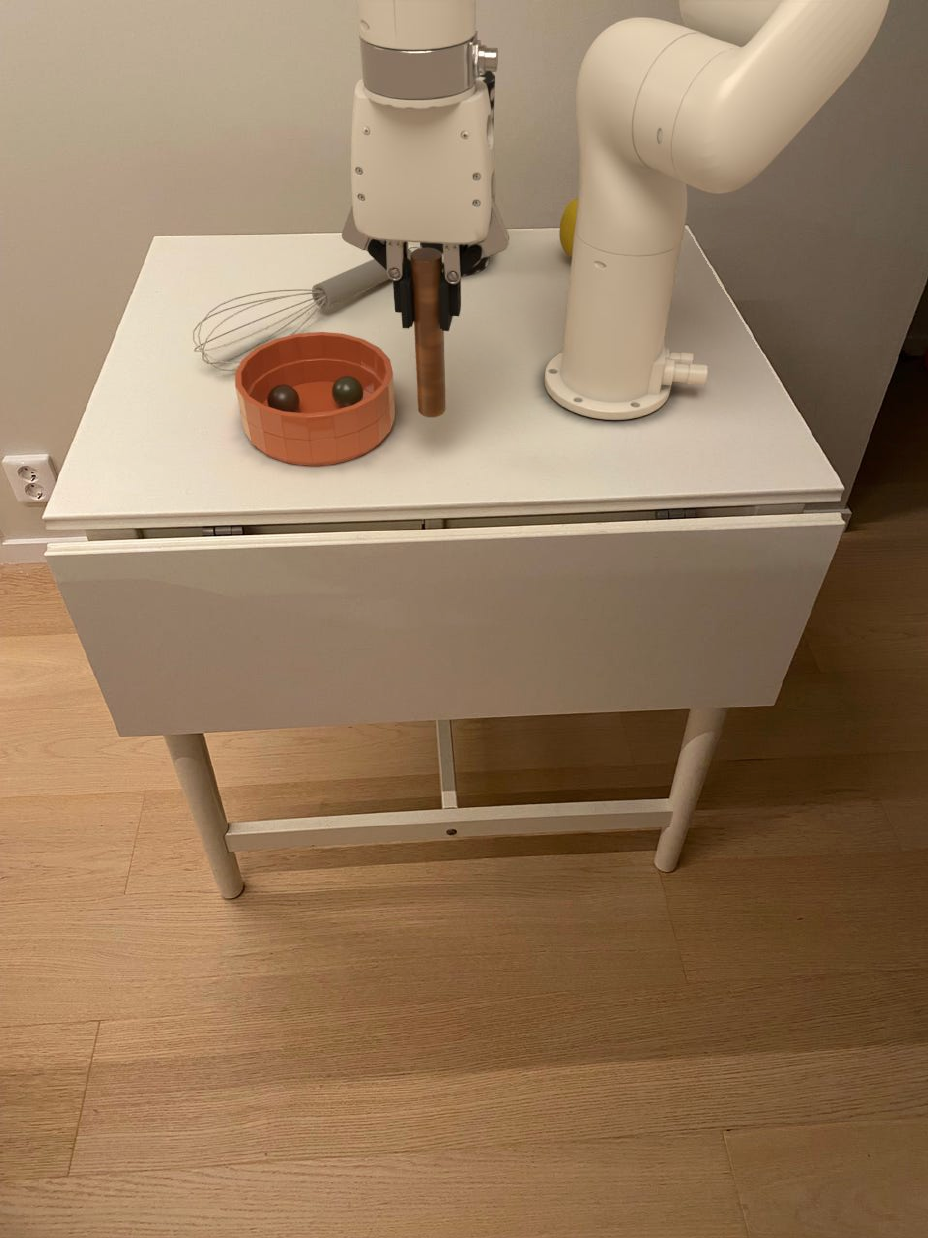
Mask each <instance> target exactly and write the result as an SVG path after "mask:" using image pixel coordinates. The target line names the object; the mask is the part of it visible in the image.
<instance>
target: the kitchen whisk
mask: <svg viewBox="0 0 928 1238" xmlns="http://www.w3.org/2000/svg"><path fill="white" fill-rule="evenodd" d="M419 248H420V247H418V246H411V247H408V252H409V258H408V259H409V260H410V261H411V253H412V252H413V251H412V250H411V249H419ZM389 280H391V279H390V278H389V277H388V275H387V271H386V270H385V269H384V268H383V267H382V266H381V265H380V264H379V263H378V262H377V261H376V260H375V259H374V258H373V259H371V260H368V261H366V262H364V263H361V264H359V265H357V266H355V267H352V268H350V269H348V270H346V271H343V272H341V273H338V274H337V275H334V276H332V277H329V278H327V279H325V280H323V281H321V282H318V283H316V284H314V285H313V287H312V288H310V289H309V288H307V289H306V288H304V289H303V288H301V289H299V288H298V289H297V288H295V289H294V288H293V289H292V288H291V289H276V290H266V291H259V292H255V293H254V292H253V293H249V294H246V295H241V296H237V297H234V298H232V299H229V300H226V301H224V302H222V303H220V304H218V305H216V306H215V307H214V308H212V309H211V310H209V311H208V312H207V313H206V315H205V316H204V317H203V319H202V320H201V321H199V322H198V323H197V325H196V326H195V327H194V329H193V330H192V341H193V343H194V344H195V346H196V347H195V348H194V349H193V352H194V353H201V358H202V361H203V362H204V363H206V364H207V365H210V366H211V367H213V368H215V369H216V370H218V371H221V372H235V371H236V370H237V368H233V369H226V368H225V369H223V368H219V367H217V366H216V365H218V364H222V363H224V364H238V363H239V364H240V363H241V361H242V360H239V361H238V360H237V361H230V360H232V359H234V358H236V357H238V356H240V355H242V354H244V353H246V352H248V351H250V350H251V349H254V348H255V347H257V346H258V345H260V344H261V343H263V342H265V341H266V340H268V339H270V338H271V337H272V336H275V334H277V333H278V332H280V331H282V330H283V329H285V328H286V327H287V326H289V325H291V324H292V323H293V322H295V321H296V320H298V319H299V318H300V317H302V316H304V315H305V314H306V313H308V312H309V311H310V310H311V309H313V308H314V307H315V306H317V308H316V309H315V310H314V311H313V312H312V314H311V315H310V316H309V317H308V318H306V320H305V321H304V322H302V324H300V326H299V327H297V328H296V329H295V330H293V332H292V333H290V335H294V334H297V332H298V331H299V330H300V329H301V328H302V327H303V326H304V325H305V324H307V322H308V321H309V320H310V319H311V318H312V317H313V316H314V315H316V313H317V312H318V311H319V310H320V309H322V310H326V309H328V308H331V307H333V306H335V305H337V304H340V303H341V302H344V301H345V300H348V299H350V298H352V297H354V296H356V295H358V294H361V293H363V292H365V291H368V290H369V289H371V288H373V287H375V286H378V285H380V284H382V283H384V282H386V281H389ZM295 291H296V292H301V293H295V294H286V295H281V296H274V297H269V298H264V299H259V300H254V301H249V302H246V303H245V302H244V303H241V304H238V305H235V306H231V307H228V308H224V309H222V310H220V311H217V312H215V313H213V314H211V313H212V312H214V311H215V310H216V309H218V308H220V307H221V306H223V305H225V304H228V303H231V302H232V301H235V300H238V299H239V300H240V299H242V298H247V297H251V296H256V295H262V294H268V293H269V294H270V293H278V292H295ZM302 291H303V292H302ZM305 291H308V292H305ZM304 295H311V296H312V298H308V299H306V300H304V301H302V302H299V303H296V304H293V305H291V306H288V307H286V308H283V309H281V310H278V311H275V312H273V313H270V314H267V315H265V316H263V317H261V318H258V319H255V320H253V321H250V322H248V323H245V324H243V325H241V326H239V327H236V328H233V329H231V330H229V331H227V332H224V333H222V334H219V335H218V336H215V337H213V338H211V339H209V338H210V336H211V335H212V334H213V333H214V331H215V330H216V329H218V327H220V326H221V325H222V324H223V323H224V322H225V321H227V320H229V319H230V318H233V317H234V316H236V315H238V314H239V313H241V312H244V311H247V310H249V309H251V308H253V307H256V306H259V305H262V304H265V303H269V302H273V301H277V300H281V299H285V298H290V297H296V296H304ZM312 300H313V302H311V303H309V304H308V305H305V306H304V307H302V308H301V309H299V310H297V311H295V312H293V313H292V314H289V315H287V316H285V317H284V318H282V319H279V320H278V321H276V322H274V323H272V324H269V325H268V326H266V327H263V328H261V329H259V330H257V331H255V332H252V333H251V334H248V335H245V336H243V337H241V338H238V339H236V340H233V341H231V342H229V343H225V344H222V345H219V346H216V347H212V348H207V349H205V347H206V344H208V343H210V342H212V341H214V340H216V339H218V338H220V337H223V336H225V335H227V334H230V333H233V332H234V331H237V330H240V329H241V328H243V327H246V326H249V325H251V324H253V323H257V322H259V321H261V320H263V319H267V318H269V317H272V316H274V315H276V314H279V313H281V312H284V311H286V310H289V309H293V308H294V307H297V306H299V305H303V304H305V303H307V302H310V301H312ZM249 304H253V305H250V306H248V307H245V308H242V309H240V310H238V311H237V312H235V313H233V314H231V315H229V316H227V317H226V318H224V319H223V320H222V321H220V322H219V323H218V324H217V325H215V326H214V328H213V329H212V330H211V331H210V333H208V335H207V336H206V338H205V340H204V342H203V343H202V342H201V338H200V337H201V336H200V334H201V329H202V325H203V323H204V322H205V321H206V320H209V318H212V317H214V316H216V315H218V314H221V313H223V312H225V311H229V310H232V309H236V308H239V307H241V306H242V307H243V306H246V305H249ZM307 308H308V309H307ZM304 310H305V311H304ZM302 311H304V312H302ZM300 312H302V313H301V314H299V315H298V316H297V317H295V318H293V319H292V320H291V321H289V322H288V323H286V324H285V325H284V326H282V327H281V328H279V329H277V330H276V331H275V332H273V333H272V334H270V335H269V336H267V337H265V338H264V339H262V340H260V341H259V342H257V343H255V344H254V345H252V346H250V347H249V348H247V349H245V350H243V351H241V352H239V353H238V354H235V355H233V356H230V357H229V358H226V359H222V360H220V359H216V358H213V357H212V356H211V355H209V354H208V353H206V352H210V351H213V350H217V349H221V348H224V347H227V346H229V345H232V344H234V343H237V342H240V341H242V340H244V339H247V338H249V337H252V336H254V335H256V334H258V333H260V332H263V331H265V330H267V329H269V328H271V327H273V326H275V325H277V324H279V323H281V322H283V321H285V320H286V319H288V318H291V317H292V316H294V315H296V314H298V313H300ZM198 327H199V328H198ZM197 329H198V332H197V338H198V342H199V345H198V343H197V342H196V340H195V331H197ZM290 335H288V336H290ZM208 339H209V340H208ZM208 358H209V359H211V360H212V361H215V362H210V360H209V359H208Z"/></svg>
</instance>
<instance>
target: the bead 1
mask: <svg viewBox="0 0 928 1238" xmlns="http://www.w3.org/2000/svg"><path fill="white" fill-rule="evenodd" d="M267 402H268V406H269V407H271V408H274V409H277V410H281V411H284V412H296V411H297V410H298V408H299V404H300V399H299V395H298V393H297V392H296V390H295V389H294V388H292V387H291V386H289V385H284V384H281V385H277V386H275V387H274V388H272V389H271V390H270V392H269V394H268V398H267Z"/></svg>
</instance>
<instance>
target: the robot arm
mask: <svg viewBox="0 0 928 1238" xmlns="http://www.w3.org/2000/svg"><path fill="white" fill-rule="evenodd" d="M889 4H890V0H678V5H679V6H678V9H679V13H680V16H681V17H680V18H681V19H682V21H683V23H684V25H685V26H683V25H680V24H676V23H673V22H670V21H667V20H663V19H658V18H655V17H643V16H641V17H640V16H638V17H630V18H626V19H625V18H624V19H623V20H620V21H617V22H615V23H613V24H612V25H609V26H608V27H607V28H605V29H604V30H603V31H601V32H600V34H599V35H598V36H597V37H596V38H595V39H594V41H592V43H591V45H590V46H589V48H588V49H587V50H586V53H585V55H584V57H583V60H582V62H581V65H580V68H579V71H578V75H577V81H576V88H575V120H576V121H575V123H576V133H577V144H578V145H577V146H578V159H579V160H578V163H579V164H578V168H579V170H578V171H579V172H578V175H579V176H578V194H577V198H578V205H577V216H576V226H575V233H574V243H573V253H572V257H571V264H570V273H569V274H570V275H569V285H568V293H567V294H568V295H567V303H566V314H565V323H564V324H565V325H564V332H563V334H564V335H563V343H562V344H563V346H562V351H561V352H559V353H558V354H555V356H554V357H552V358H551V359H550V360H549V362H548V363H547V365H546V368H545V371H544V380H543V381H544V387H545V389H546V391H547V394H548V395H549V396H550V397H551V398H552V399H553V400H554V401H555V402H556V403H557V404H559V406H561V407H563V408H565V409H566V410H569V411H570V412H572V413H576V414H577V415H580V416H583V417H588V418H591V419H597V420H605V421H606V420H607V421H623V420H632V419H636V418H642V417H644V416H646V415H649V414H651V413H654V412H655V411H657V410H659V409H661V407H662V406H664V404H665V403H666V402H667V400H668V399H669V397H670V393H671V389H672V384H673V383H682V384H683V383H684V384H688V385H700V386H705V385H706V383H707V380H708V379H707V378H708V369H709V366H708V364H702V363H701V364H700V363H694V356H695V355H694V353H693V352H673V351H671V350H670V348H666V336H665V333H666V328H667V322H668V317H669V313H670V312H669V311H670V306H671V302H672V296H673V291H674V286H675V281H676V274H677V270H678V264H679V258H680V254H681V253H680V252H681V247H682V242H683V239H684V235H685V229H686V224H687V215H688V192H687V185H688V186H689V187H691V188H695V189H697V190H700V191H703V192H706V193H709V194H716V195H721V194H728V193H732V192H735V191H737V190H739V189H741V188H743V187H745V186H746V185H748V184H749V183H751V182H752V181H753V180H755V179H756V178H757V177H758V176H759V175H760V174H761V173H763V172H764V170H765V169H766V168H767V167H769V166H770V164H771V163H772V162H773V161H774V160H775V159H776V158H777V157H778V156H779V155H780V153H781V152H783V150H784V149H785V148H786V147H787V145H789V144H790V142H791V141H792V140H793V139H794V138H796V136H797V135H798V134H799V133H800V131H801V130H802V129H803V128H804V127H805V126H806V125H807V124H808V123H809V121H810V120H811V119H812V118H813V117H814V116H815V115H816V113H817V112H819V110H820V109H821V108H822V107H823V106H824V105H825V104H826V103H827V102H828V101H829V99H830V98H831V97H832V96H833V95H834V94H835V92H837V90H839V88H840V87H841V86H842V85H843V84H844V83H845V81H846V80H848V78H849V76H850V75H851V74H852V73H853V72H854V71H855V69H856V68H858V66H859V64H860V63H861V61H862V60H863V58H864V57H865V56H866V54H867V53H868V51H869V49H870V48H871V46H872V44H873V43H874V40H875V39H876V37H877V35H878V33H879V31H880V28H881V26H882V23H883V22H884V19H885V16H886V13H887V10H888V7H889ZM356 11H357V12H356V13H357V23H358V35H359V37H358V38H359V50H360V61H361V76H362V78H361V79H359V80H358V81H357V82H356V84H355V87H354V93H353V101H352V113H351V130H350V131H351V132H350V133H351V134H350V136H351V137H350V176H351V177H350V183H351V184H350V186H351V208H350V210H349V212H348V215H347V218H346V221H345V223H344V227H343V230H342V232H341V238H342V239H343V241H344V242H346V243H347V244H350V245H352V246H354V247H356V248H357V249H360V250H361V251H366V252H368V254H369V256H371V257H372V258H373V259H375V260H376V261H377V262H378V263H379V264H380V265H381V266H382V267H383V268H384V269H385V270H386V271H387V275H388V277H389V278H390V279H389V280H390V281H392V286H393V287H392V289H393V304H394V312H395V313H400V314H401V325H402V326H401V327H402V329H408V330H409V329H410V328H413V326H414V314H413V295H412V275H411V261H410V260H409V259H408V258H409V252H408V249H409V243H419V244H420V243H438V244H443V255H444V269H443V272H442V278H441V279H440V283H439V319H440V329H442V331H444V332H449V331H450V329H451V325H452V323H453V318H454V317H460V315H461V311H462V310H461V309H462V277H464V276H463V275H464V274H465V273H466V272H468V271H469V270H470V269H471V268H472V267H473V266H474V265H475V264H476V263H477V262H478V261H479V260H480V259H482V258H484V257H489V258H490V257H491V256H494V255H497V254H499V253H501V252H504V251H505V250H507V248H508V245H509V242H510V234H509V232H508V230H507V227H506V225H505V222H504V220H503V218H502V216H501V213H500V211H499V208H498V206H497V203H496V194H497V193H496V188H497V187H496V186H497V185H496V157H495V156H496V154H495V137H494V136H495V135H494V126H493V121H492V113H491V105H490V99H489V93H488V88H487V85H486V83H484V82H483V81H481V80H476V78H479V75H480V73H486V71H491V72H492V73H496V72H497V71H498V65H499V64H498V63H499V50H498V48H497V47H487V44H482V41H481V39H478V30H477V0H356Z"/></svg>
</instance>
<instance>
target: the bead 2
mask: <svg viewBox="0 0 928 1238" xmlns="http://www.w3.org/2000/svg"><path fill="white" fill-rule="evenodd" d="M332 397H333V399H334V401H335V402H336V403H337V404H338V405H339V406H341V407H343V408H345V407H348V406H352V405H354V404H356V403H358V402H360V401H361V400H362V398H363V387H362V385H361V383H360V382H359V381H358V380H357V379H356V378H354V377H351V376H343V377H340V378H339V379H337V380H336V381H335V383H334V384H333V387H332Z"/></svg>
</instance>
